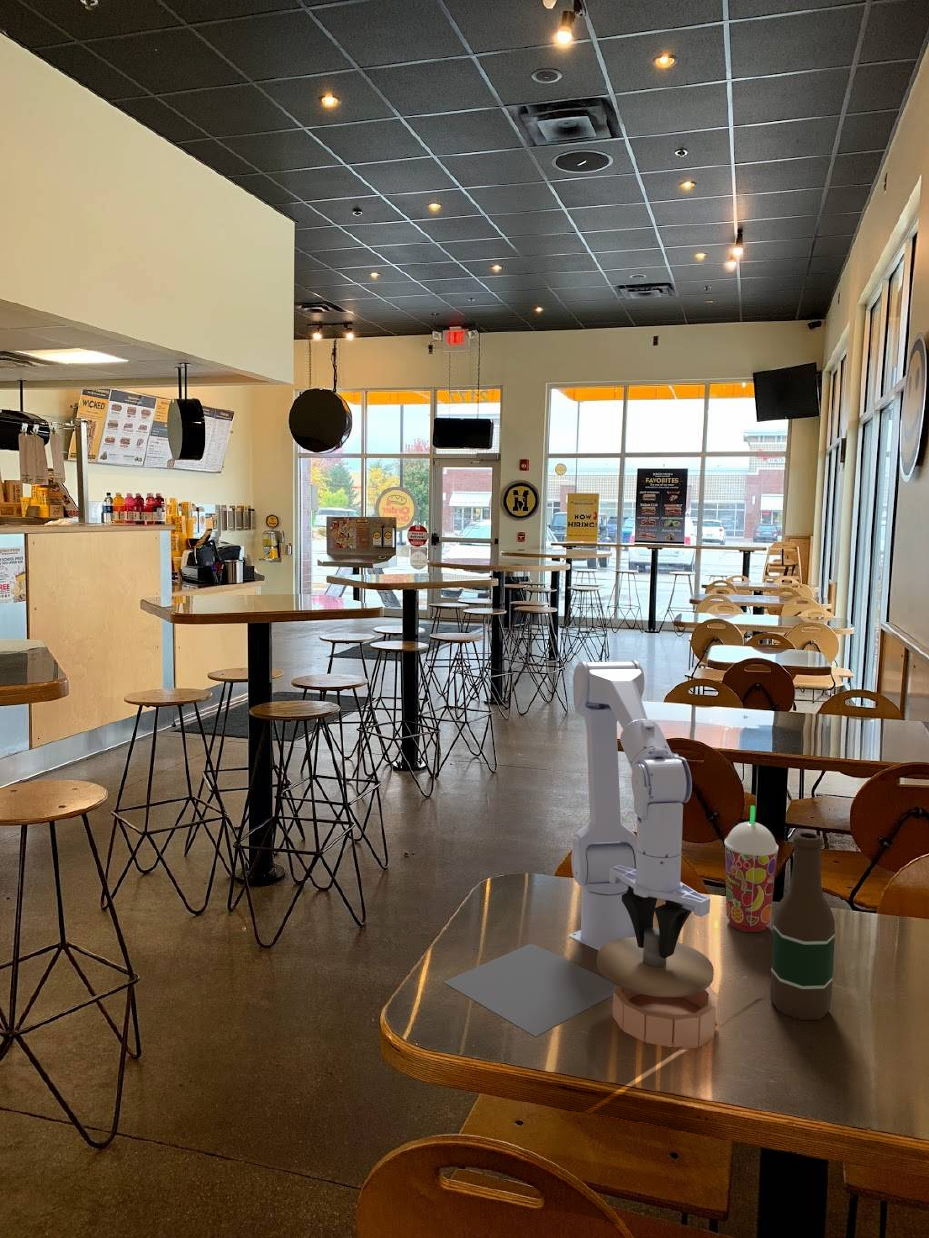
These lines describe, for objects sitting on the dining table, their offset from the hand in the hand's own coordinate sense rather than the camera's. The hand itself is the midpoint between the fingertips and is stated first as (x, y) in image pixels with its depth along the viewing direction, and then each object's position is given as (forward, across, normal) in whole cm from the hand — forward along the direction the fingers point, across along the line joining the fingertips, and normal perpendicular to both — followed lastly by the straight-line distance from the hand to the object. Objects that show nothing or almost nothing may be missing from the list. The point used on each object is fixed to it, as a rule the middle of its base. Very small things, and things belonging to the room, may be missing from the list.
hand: (655, 950), depth 117 cm
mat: (+9, -16, -6) cm, 19 cm away
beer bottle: (+10, +11, +18) cm, 23 cm away
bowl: (+9, +1, +1) cm, 9 cm away
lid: (+2, 0, 0) cm, 2 cm away
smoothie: (+10, -7, +34) cm, 36 cm away
